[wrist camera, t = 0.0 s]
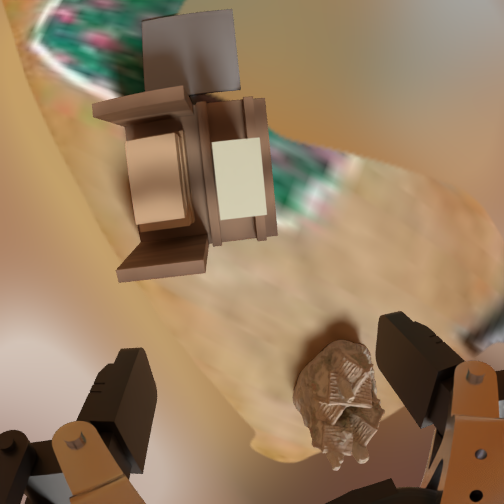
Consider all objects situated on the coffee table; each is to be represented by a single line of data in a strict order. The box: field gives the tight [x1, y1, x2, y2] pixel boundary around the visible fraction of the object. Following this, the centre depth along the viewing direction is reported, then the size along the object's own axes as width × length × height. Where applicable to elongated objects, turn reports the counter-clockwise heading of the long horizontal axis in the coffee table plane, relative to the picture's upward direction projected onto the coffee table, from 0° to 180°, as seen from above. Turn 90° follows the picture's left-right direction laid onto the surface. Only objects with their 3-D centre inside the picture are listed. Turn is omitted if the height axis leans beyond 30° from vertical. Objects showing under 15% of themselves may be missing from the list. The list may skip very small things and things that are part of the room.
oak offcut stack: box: [125, 130, 195, 232], centre depth 32 cm, size 10×6×7 cm, turn 6°
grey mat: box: [142, 9, 241, 96], centre depth 32 cm, size 11×11×1 cm
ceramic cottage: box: [293, 340, 385, 470], centre depth 41 cm, size 16×16×15 cm
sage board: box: [212, 137, 267, 220], centre depth 28 cm, size 5×3×16 cm, turn 6°
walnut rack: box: [92, 85, 278, 283], centre depth 31 cm, size 16×16×12 cm
